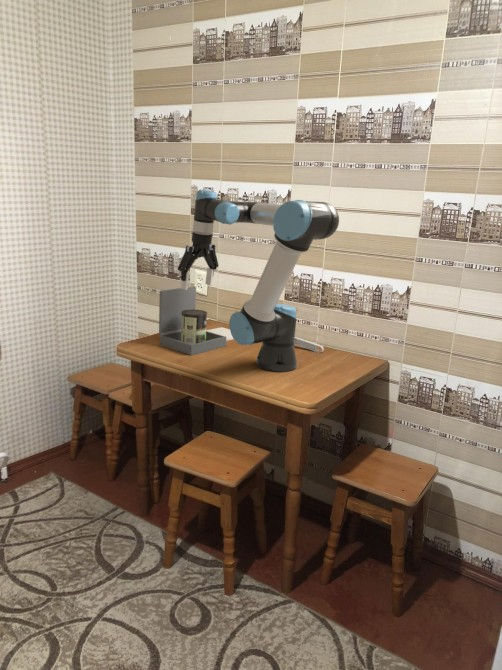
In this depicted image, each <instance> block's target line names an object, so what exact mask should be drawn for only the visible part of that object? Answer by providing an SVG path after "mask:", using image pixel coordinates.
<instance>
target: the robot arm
mask: <svg viewBox="0 0 502 670" xmlns="http://www.w3.org/2000/svg"><path fill="white" fill-rule="evenodd" d="M194 201H195V202H194V213H193V215H194V216H193V224H192V233H191V234H192V235H191V242H192V245H191V246H190V245H186V246H185V250H184V253H183V255H182V258H181V260H180V262H179V265H178V267H177V271H178V272H180V273H181V275H180V280H181V284H180V288H182V289H185V290H187V288H188V287H189V286H188V285H189V277H190V272H189V270H190V269H191V267H192V266H193V265H194V263H195V262H196V260H197V259H199V258H204V261H205V263H206V264H207V267H206V276H205V285H207V286H211V287H212V285H213V278H214V274H215V273H214V272H215V271H216V270H217V269H218V268H219V262H218V257H217V253H216V244H212V242H213V241H212V239H213V233H214V223H215V221H216V222H218V223H221V224H223V225H229V226H230V225H232V224H234V223H235V224H236V223H237V224H239V223H244V224H245V223H246V224H256V225H263V226H264V225H265V226H272V229H273V231H274V235H273V237H274V240H275V241H276V242H275V244H274V246H273V248H272V251H271V253H270V256H269V257H268V259H267V262H266V265H265V267H264V269H263V271H262V274H261V276H260V278H259V279H258V282H257V284H256V287H255V288H254V291H253V293H252V295H251V297H250V299H248V300H245V302H244V303H243V305H242V307H241V309H240V311H236V312H234V313H232V314H231V315H230V317H229V322H228V326H229V329H230V331H231V335H232V337H233V338H234V339H233V340H234V341H235V342H236V344H237V343H238V345H241V346H247V345H248V346H252V345H254V344H255V345H256V344H259V343H261V347H260V350H259V351H258V355H257V356H256V366H257V367H259V368H260V369H263V370H266V371H270V372H271V371H272V372H290V371H293V370H296V369H297V366H298V359H297V354H296V350H295V344H294V338H295V337H296V324H297V320H298V319H297V310H296V308H295V307H294V306H291V305H287V304H283V303H278V302H279V300H280V298H281V296H282V294H283V291H284V290H285V288H286V285H287V283H288V281H289V279H290V277H291V274H292V273H293V271H294V268H295V267H296V265H297V263H298V261H299V258H300V257H301V254H302V253H303V254H304V253H306V252H308V251H309V249H310V247H311V244H312V243H313V241H314V240H316V241H317V240H326V239H328V238H329V237H331V236H332V235H334V234H335V233H336V231H337V229H338V228H339V225H340V216H339V213H338V210H337V209H336V207H334V206H333V205H332V204H330V203H328V202H325V201H308V200H307V201H306V200H301V199H295V200H288V201H285V202H284V203H282V204H278V203H277V204H276V203H264V202H256V201H233V200H232V201H231V200H222V199H218V194H217V192H215V191H212V190H207V189H198V190H197V192H196V196H195V200H194Z"/></svg>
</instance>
